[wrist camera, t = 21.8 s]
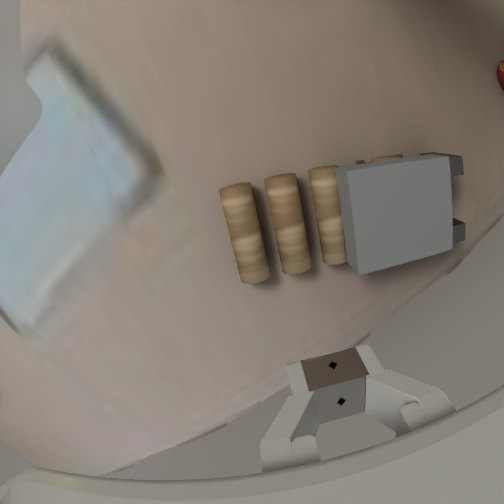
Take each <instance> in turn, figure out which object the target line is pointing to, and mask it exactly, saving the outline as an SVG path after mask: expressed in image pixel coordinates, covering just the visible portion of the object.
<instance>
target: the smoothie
mask: <svg viewBox="0 0 504 504" xmlns="http://www.w3.org/2000/svg"><path fill="white" fill-rule="evenodd" d="M497 76H498V80H499V83H500V85H501V87H502V88H503V90H504V61H502V62H501V64H500V65H499V66H498V69H497Z"/></svg>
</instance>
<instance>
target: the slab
mask: <svg viewBox="0 0 504 504" xmlns="http://www.w3.org/2000/svg"><path fill="white" fill-rule="evenodd" d="M335 173H336V179H337V185H338V192H339V198H340V205H341V212H342V220H343V227H344V235H345V244H346V253H347V262H348V264H349V265H350V266H351V267H352V268H353V270H354V271H355V272H356V273H357V274H358V275H362V274H366V273H370V272H374V271H378V270H381V269H385V268H389V267H392V266H396V265H400V264H403V263H407V262H411V261H414V260H418V259H421V258H425V257H428V256H432V255H435V254H438V253H442V252H445V251H449V250H452V247H453V214H452V189H451V175H450V163H449V156H441V155H434V154H428V155H420V156H413V157H405V158H398V159H391V160H384V161H377V162H371V163H365V164H358V165H352V166H346V167H341V168H335Z"/></svg>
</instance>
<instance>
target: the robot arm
mask: <svg viewBox="0 0 504 504" xmlns="http://www.w3.org/2000/svg"><path fill="white" fill-rule="evenodd" d="M286 367H287V372H288V377H289V382H290V386H291V391H292V396H289V397H288V399H287V400H286V402H285V404H284V406H283V408H282V409H281V411H280V412H279V414H278V415H277V417H276V419H275V420H274V422H273V424H272V425H271V427H270V429H269V430H268V432H267V433H266V435H265V437H264V438H263V440H262V441H261V443H260V450H261V460H262V471H263V473H258V474H250V475H242V476H233V477H223V478H211V479H197V480H195V479H194V480H133V479H117V478H105V477H96V476H87V475H80V474H73V473H67V472H61V471H55V470H50V469H46V468H42V467H29V468H27V469H25V470H23V471H22V472H20V473H18V474H17V475H15V476H14V477H13V478H11V479H10V480H8V481H7V482H5V483H4V484H3V485H2V486H1V487H0V504H504V385H503V386H501V387H499V388H498V389H496V390H494V391H493V392H491V393H489V394H488V395H486V396H484V397H482V398H481V399H479V400H477V401H475V402H474V403H472V404H470V405H468V406H466V407H464V408H462V409H460V410H458V411H456V409H455V408H454V407H453V405H452V404H451V402H450V401H449V399H448V398H447V397H446V395H445V394H444V392H443V391H442V390H441V389H439V388H436V387H433V386H431V385H428V384H426V383H423V382H420V381H418V380H416V379H413V378H410V377H408V376H405V375H403V374H400V373H398V372H396V371H393V370H391V369H386V370H385V369H384V368H383V366H382V365H381V363H380V361H379V359H378V358H377V356H376V355H375V353H374V351H373V350H372V349H371V347H370V345H369V344H368V343H365V344H362V345H358V346H355V347H354V348H349V349H346V350H342V351H339V352H335V353H332V354H328V355H324V356H319V357H315V358H311V359H306V360H301V362H300V361H298V362H293V363H288V364H286ZM361 412H365V413H367V414H368V415H370V416H371V417H373V418H374V419H376V420H377V421H379V422H380V423H382V424H383V425H385V426H387V427H388V428H390V429H391V430H393V431H394V432H396V436H395V438H394V439H392V440H389V441H386V442H383V443H380V444H377V445H374V446H371V447H368V448H365V449H362V450H359V451H356V452H352V453H349V454H346V455H342V456H338V457H335V458H331V459H327V460H323V461H321V459H320V456H319V452H318V448H317V445H316V441H315V434H316V432H317V429H318V427H319V424H322V423H326V422H329V421H332V420H336V419H339V418H343V417H347V416H350V415H354V414H358V413H361Z"/></svg>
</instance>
